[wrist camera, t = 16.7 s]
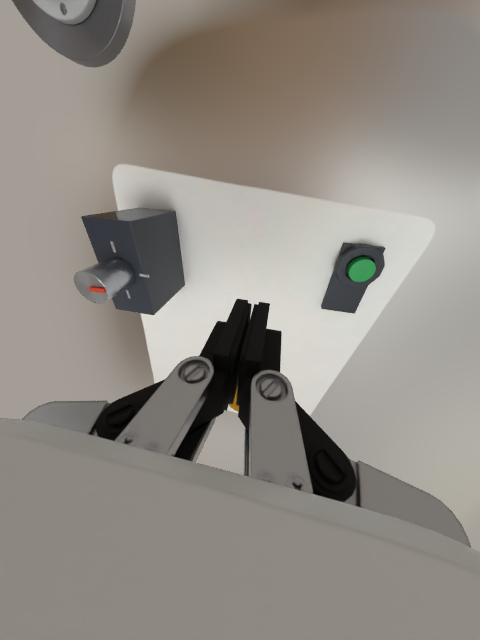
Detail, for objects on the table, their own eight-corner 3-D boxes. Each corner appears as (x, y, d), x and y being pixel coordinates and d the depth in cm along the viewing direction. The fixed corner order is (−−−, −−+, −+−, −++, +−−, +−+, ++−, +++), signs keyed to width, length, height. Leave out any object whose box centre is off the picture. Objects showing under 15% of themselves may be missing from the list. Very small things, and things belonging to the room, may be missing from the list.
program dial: (114, 284, 30) (82, 303, 25) (102, 256, 27) (64, 270, 23) (139, 287, 29) (111, 306, 24) (130, 258, 27) (96, 273, 22)
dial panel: (134, 207, 34) (74, 216, 25) (179, 211, 33) (135, 222, 24) (151, 280, 43) (110, 308, 33) (188, 285, 41) (157, 316, 32)
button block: (342, 241, 31) (345, 245, 29) (385, 245, 30) (392, 249, 28) (319, 306, 38) (321, 313, 36) (354, 311, 37) (358, 318, 35)
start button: (351, 255, 30) (354, 258, 29) (376, 257, 29) (380, 260, 28) (343, 276, 32) (345, 280, 31) (366, 279, 32) (369, 283, 30)
